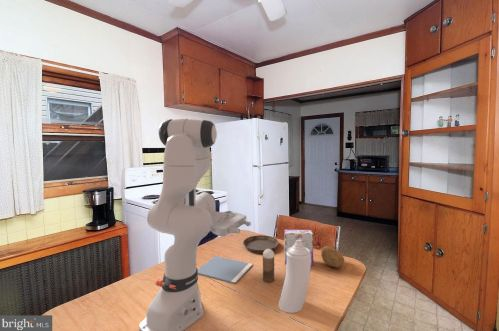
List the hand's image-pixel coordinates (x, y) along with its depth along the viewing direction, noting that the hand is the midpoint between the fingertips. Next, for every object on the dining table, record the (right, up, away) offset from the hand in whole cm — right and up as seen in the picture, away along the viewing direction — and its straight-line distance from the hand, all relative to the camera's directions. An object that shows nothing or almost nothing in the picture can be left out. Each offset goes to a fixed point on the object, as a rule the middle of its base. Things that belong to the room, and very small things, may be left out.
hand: (244, 227), depth 113 cm
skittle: (+11, -22, -3) cm, 25 cm away
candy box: (+27, -21, +12) cm, 36 cm away
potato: (+43, -21, +9) cm, 49 cm away
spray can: (+19, -24, -20) cm, 36 cm away
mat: (-10, -22, +7) cm, 25 cm away
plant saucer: (+9, -20, +32) cm, 39 cm away
